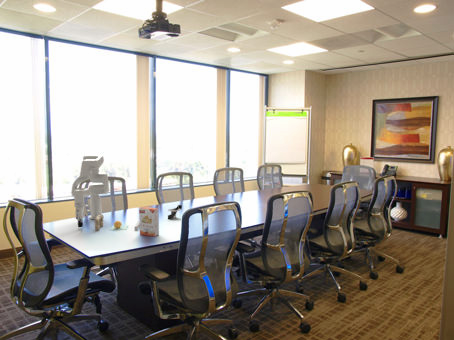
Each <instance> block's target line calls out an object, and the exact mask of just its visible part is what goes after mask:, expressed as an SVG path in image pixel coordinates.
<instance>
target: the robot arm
mask: <svg viewBox="0 0 454 340" xmlns="http://www.w3.org/2000/svg"><path fill="white" fill-rule="evenodd" d="M82 157H83V158H82V161H81V166H80V173H79V176H78V177H77V178H76V179H75V180H74V182H72V183H73V184H72V186H71V196H72V197H73V200H74V202H73V203H74V207H75V220H76V221H77V227H78V228H83V226H84V225H83V223H84V222H83V221H84V220H83V219H84V218H85V217H86V213H85V212H86V211H85V198H88V197H90V198H89V199H90V201H89V202H90V216H88V218H89V219H90V220H95V218H96V217H97V216H98V215H103V213H102V212H103V211H102V197H101V196H100V195H108V193H110V185H109V176H108V173H106V172H100V170H99V169H100V168H101V166H102V165H103V163H104V160H105V159H104V156H103V155H101V154H85V155H84V156H82ZM88 180H89V181H90V182H91V183H92V184H90V185H89V186H88V187H87V188H86V187H78V186H79V185H80V184H81V183H83V182H85V181H88ZM103 218H104V215H103Z"/></svg>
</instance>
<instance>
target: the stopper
mask: <svg viewBox="0 0 454 340" xmlns="http://www.w3.org/2000/svg"><path fill="white" fill-rule="evenodd" d="M139 229H140V220H138V221H137V222H136V224H135V226H134V230H135V231H138V230H139Z"/></svg>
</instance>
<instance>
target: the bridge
mask: <svg viewBox="0 0 454 340" xmlns="http://www.w3.org/2000/svg"><path fill="white" fill-rule="evenodd" d="M103 216H104V214H102V215H98V216H97V217H96V218H95V219H94V231H97V232H98V231H100V227H101V228H103V227H104V217H103Z"/></svg>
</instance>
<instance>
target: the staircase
mask: <svg viewBox="0 0 454 340" xmlns="http://www.w3.org/2000/svg"><path fill="white" fill-rule="evenodd" d="M182 210H183V205H181V204H178V205H177V206H176V207H174V208H171V209H170V208H169V209H168V210H167V212H170V214H168V215H167V219H168V220H172V219H174V218H177V213H178V212H180V211H182Z"/></svg>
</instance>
